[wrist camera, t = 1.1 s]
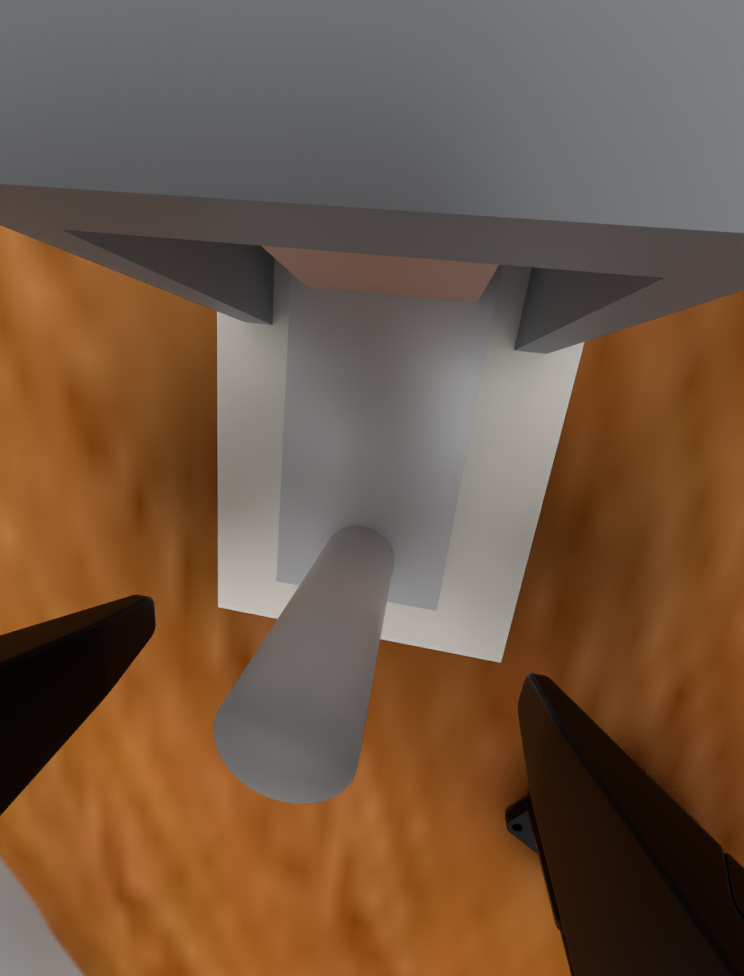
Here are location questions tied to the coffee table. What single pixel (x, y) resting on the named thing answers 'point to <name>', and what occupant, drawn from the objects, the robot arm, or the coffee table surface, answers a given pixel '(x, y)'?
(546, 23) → the tunnel
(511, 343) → the board
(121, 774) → the coffee table surface
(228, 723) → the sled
